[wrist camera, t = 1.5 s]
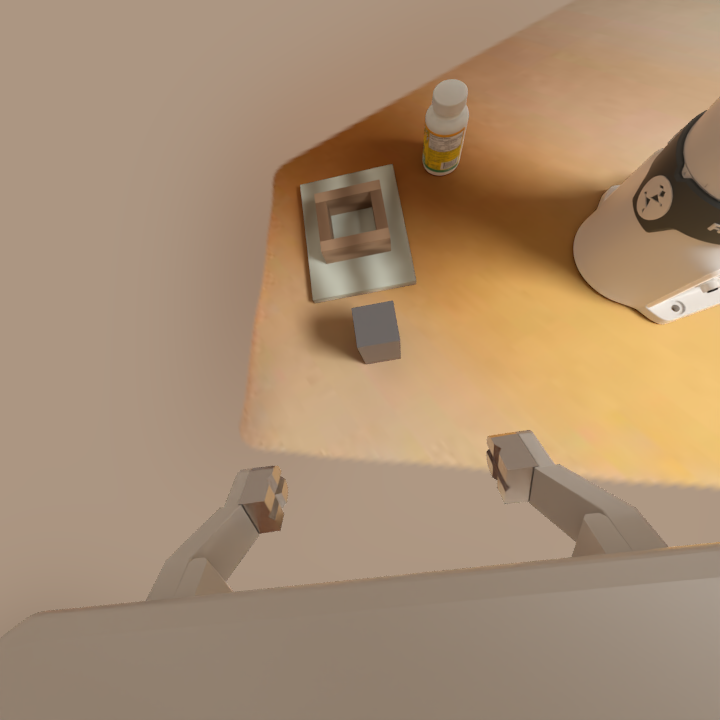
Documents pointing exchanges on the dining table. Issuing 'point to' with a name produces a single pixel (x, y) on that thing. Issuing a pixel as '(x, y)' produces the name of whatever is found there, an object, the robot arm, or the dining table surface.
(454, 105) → the supplement bottle
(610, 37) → the dining table surface
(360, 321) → the plug block
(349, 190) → the socket holder
